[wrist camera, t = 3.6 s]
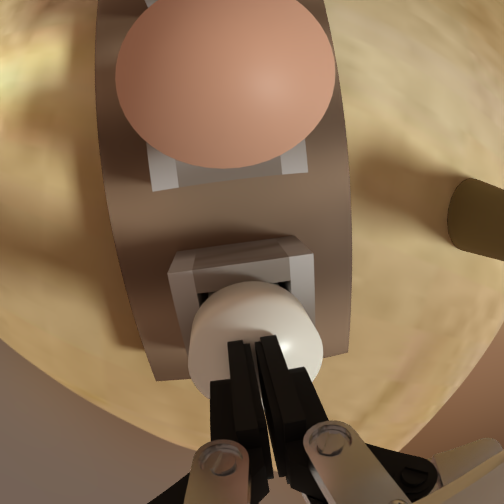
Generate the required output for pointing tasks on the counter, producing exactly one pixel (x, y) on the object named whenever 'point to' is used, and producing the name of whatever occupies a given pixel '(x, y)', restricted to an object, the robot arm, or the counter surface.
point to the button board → (222, 216)
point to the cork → (477, 219)
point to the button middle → (225, 79)
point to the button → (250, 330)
